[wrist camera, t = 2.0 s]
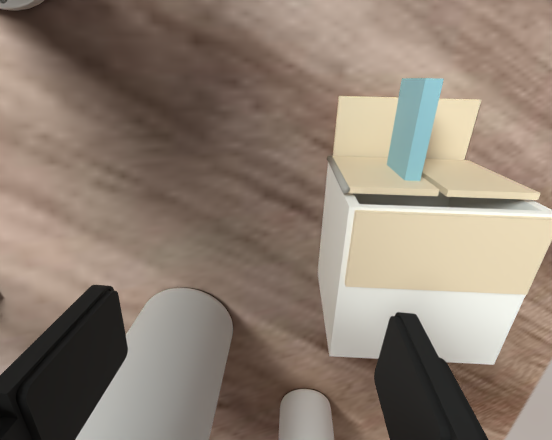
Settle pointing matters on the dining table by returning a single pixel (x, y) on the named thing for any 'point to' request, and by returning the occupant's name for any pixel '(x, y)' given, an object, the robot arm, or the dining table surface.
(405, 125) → the door
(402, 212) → the carton
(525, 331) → the dining table surface
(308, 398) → the pill bottle
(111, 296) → the robot arm
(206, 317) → the cylinder vase
